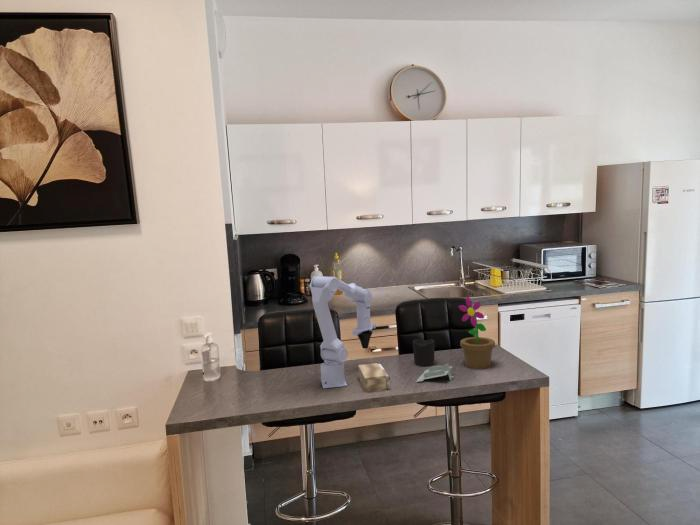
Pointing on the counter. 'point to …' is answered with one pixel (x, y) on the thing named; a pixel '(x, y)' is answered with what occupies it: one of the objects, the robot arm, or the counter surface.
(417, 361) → the pen holder
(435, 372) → the metal bracket
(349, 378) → the counter surface
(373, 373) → the beige rectangular block
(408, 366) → the counter surface
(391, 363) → the counter surface
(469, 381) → the counter surface
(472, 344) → the flowerpot
